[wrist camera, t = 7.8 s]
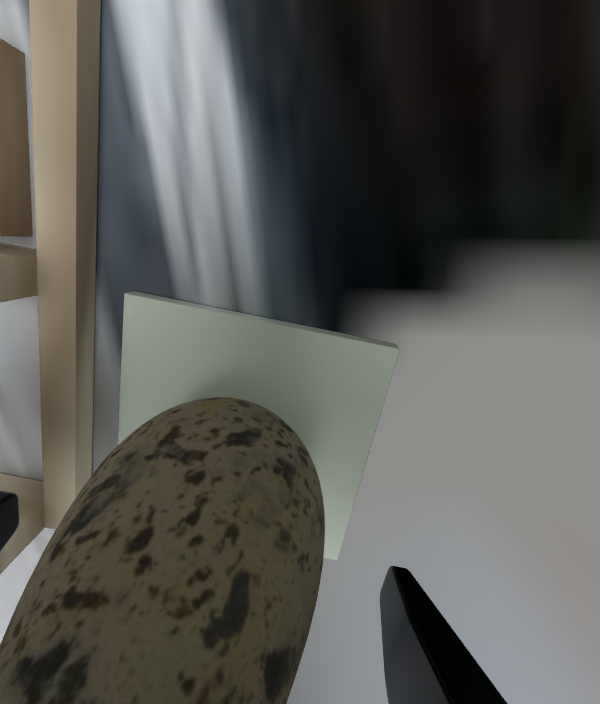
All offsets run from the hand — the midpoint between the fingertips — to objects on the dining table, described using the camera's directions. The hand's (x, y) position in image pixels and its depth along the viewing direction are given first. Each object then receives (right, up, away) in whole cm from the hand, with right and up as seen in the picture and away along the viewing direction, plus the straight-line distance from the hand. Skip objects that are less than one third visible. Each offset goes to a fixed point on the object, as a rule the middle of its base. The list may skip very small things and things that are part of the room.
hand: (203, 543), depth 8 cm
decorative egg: (0, +1, +4) cm, 5 cm away
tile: (0, +2, +5) cm, 5 cm away
